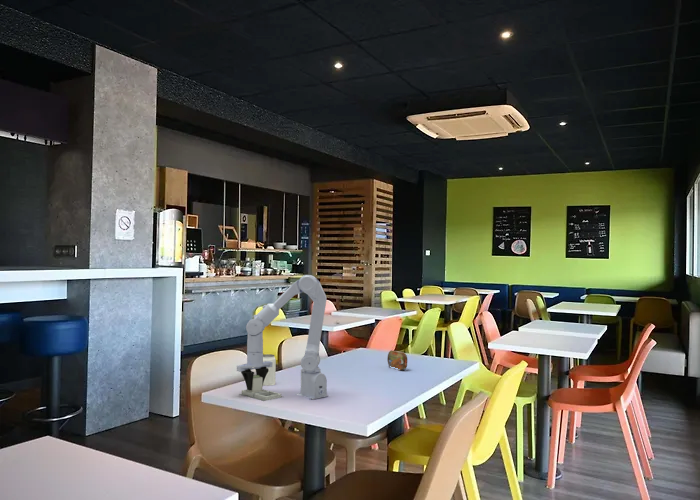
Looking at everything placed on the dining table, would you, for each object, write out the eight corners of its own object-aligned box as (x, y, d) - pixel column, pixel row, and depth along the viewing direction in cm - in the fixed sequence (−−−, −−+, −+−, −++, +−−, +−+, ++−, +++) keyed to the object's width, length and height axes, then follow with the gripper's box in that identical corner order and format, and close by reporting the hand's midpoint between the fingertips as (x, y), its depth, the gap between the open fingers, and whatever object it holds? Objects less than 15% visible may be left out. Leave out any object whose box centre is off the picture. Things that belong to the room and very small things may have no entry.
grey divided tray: (284, 398, 194) (284, 393, 194) (263, 402, 188) (263, 397, 188) (258, 392, 205) (258, 387, 205) (238, 395, 198) (238, 390, 199)
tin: (386, 366, 262) (386, 349, 263) (392, 366, 264) (392, 348, 264) (402, 371, 249) (402, 353, 249) (408, 371, 250) (408, 352, 251)
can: (272, 387, 213) (272, 356, 214) (256, 386, 214) (256, 356, 215) (277, 384, 219) (277, 354, 220) (262, 383, 221) (262, 353, 221)
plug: (262, 393, 199) (262, 375, 200) (253, 395, 196) (253, 377, 197) (255, 392, 202) (256, 374, 202) (246, 393, 199) (247, 375, 199)
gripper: (264, 348, 208) (264, 384, 207) (232, 352, 198) (231, 390, 197) (275, 350, 203) (275, 387, 202) (243, 354, 193) (242, 393, 192)
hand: (254, 389), depth 199 cm, fingers closed on plug, 4 cm apart
